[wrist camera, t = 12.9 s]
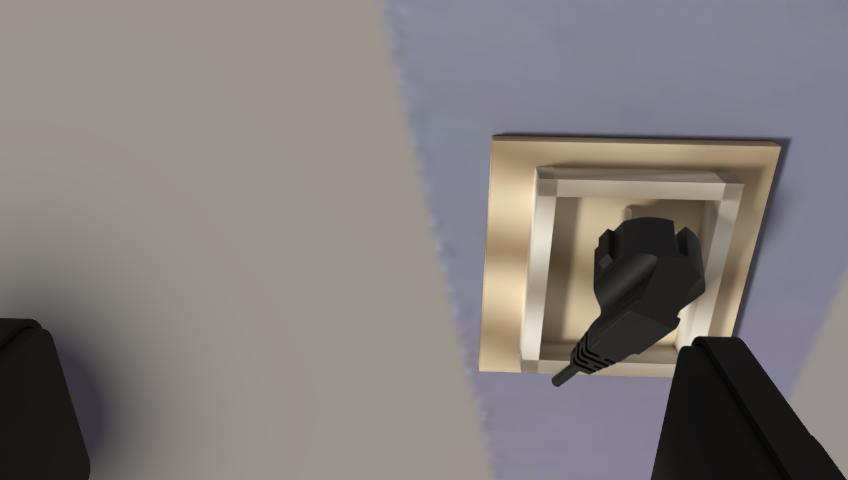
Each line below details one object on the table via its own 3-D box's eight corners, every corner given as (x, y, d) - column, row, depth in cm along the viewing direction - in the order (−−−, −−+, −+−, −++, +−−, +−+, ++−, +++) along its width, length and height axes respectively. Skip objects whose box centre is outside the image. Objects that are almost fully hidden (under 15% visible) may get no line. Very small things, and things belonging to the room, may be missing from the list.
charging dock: (491, 135, 37) (495, 151, 34) (772, 141, 36) (799, 158, 33) (478, 361, 43) (480, 390, 41) (714, 369, 43) (731, 398, 40)
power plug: (514, 376, 39) (636, 272, 30) (526, 281, 44) (633, 168, 35) (595, 409, 39) (735, 317, 31) (597, 312, 44) (719, 209, 36)
